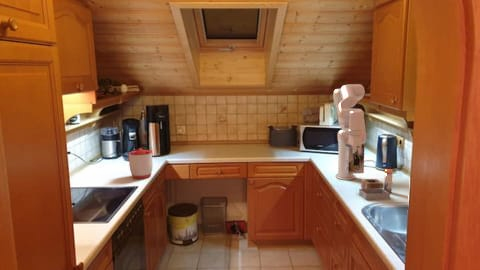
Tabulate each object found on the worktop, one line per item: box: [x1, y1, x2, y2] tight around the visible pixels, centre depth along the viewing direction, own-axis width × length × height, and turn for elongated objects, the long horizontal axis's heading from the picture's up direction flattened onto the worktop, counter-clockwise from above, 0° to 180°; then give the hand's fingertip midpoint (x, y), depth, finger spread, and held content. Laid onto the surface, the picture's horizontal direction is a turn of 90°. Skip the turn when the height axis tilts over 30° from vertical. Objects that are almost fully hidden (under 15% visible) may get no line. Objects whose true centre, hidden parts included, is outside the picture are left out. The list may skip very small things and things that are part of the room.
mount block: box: [360, 178, 384, 189], centre depth 219 cm, size 9×9×5 cm
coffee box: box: [345, 144, 365, 175], centre depth 215 cm, size 9×6×16 cm
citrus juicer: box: [125, 147, 153, 179], centre depth 254 cm, size 16×17×20 cm
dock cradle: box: [358, 187, 391, 201], centre depth 206 cm, size 10×13×3 cm
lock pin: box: [383, 168, 394, 194], centre depth 212 cm, size 4×4×13 cm
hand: (354, 163), depth 215 cm, fingers closed on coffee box, 6 cm apart
